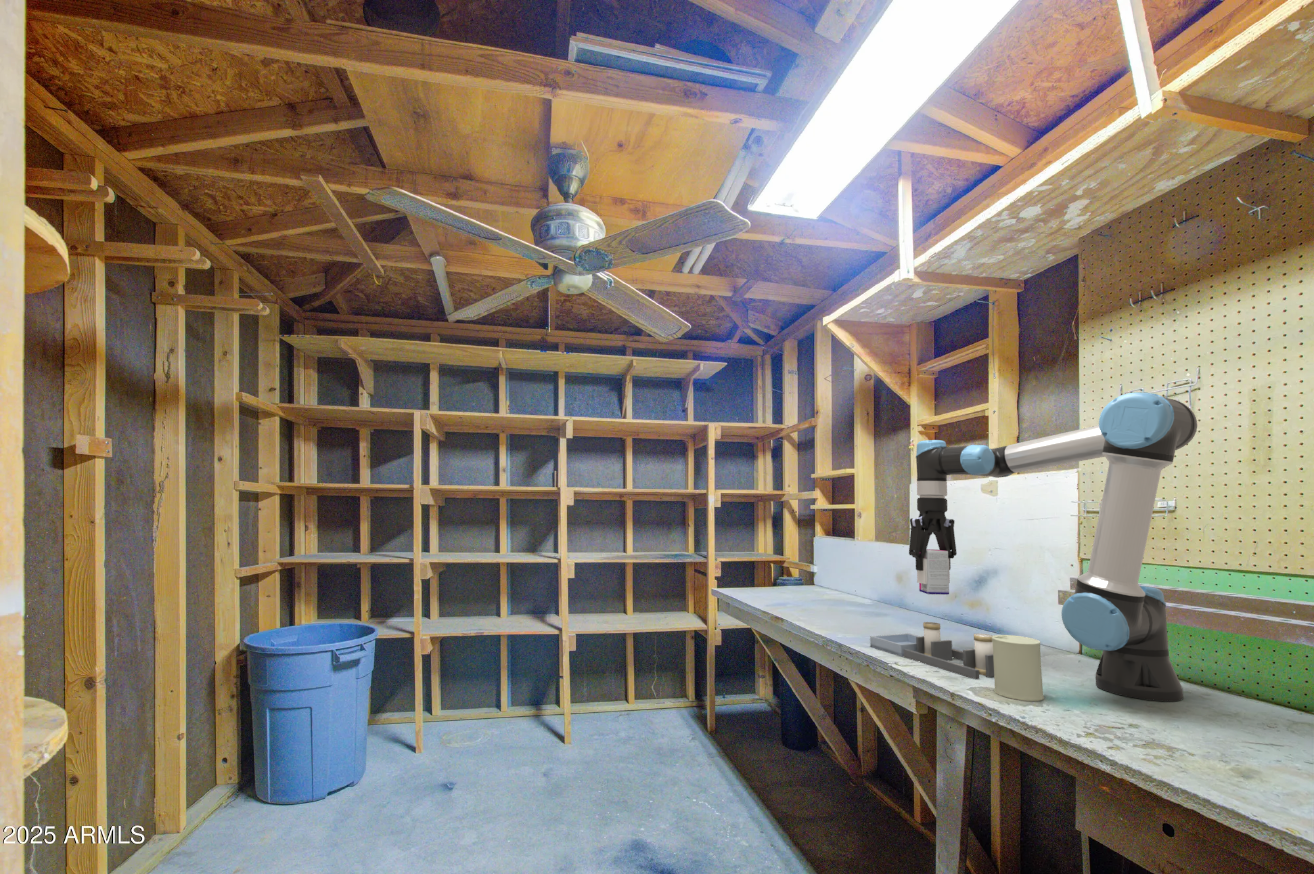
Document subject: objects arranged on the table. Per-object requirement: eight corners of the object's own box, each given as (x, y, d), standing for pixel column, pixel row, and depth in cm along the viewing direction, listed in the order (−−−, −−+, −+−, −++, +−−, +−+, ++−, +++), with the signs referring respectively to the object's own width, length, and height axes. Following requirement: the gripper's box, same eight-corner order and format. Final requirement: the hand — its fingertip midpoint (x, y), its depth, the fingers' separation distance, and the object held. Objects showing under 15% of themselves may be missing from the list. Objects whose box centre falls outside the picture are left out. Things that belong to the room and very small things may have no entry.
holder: (1017, 674, 146) (1016, 652, 147) (975, 679, 141) (974, 657, 142) (942, 653, 167) (941, 634, 167) (904, 657, 162) (903, 637, 162)
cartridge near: (999, 674, 145) (997, 636, 146) (986, 676, 144) (984, 637, 145) (983, 670, 149) (982, 632, 150) (971, 671, 148) (969, 633, 149)
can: (996, 685, 136) (993, 630, 137) (1045, 693, 131) (1041, 636, 132) (991, 695, 129) (988, 637, 130) (1042, 704, 123) (1039, 643, 125)
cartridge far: (945, 659, 160) (943, 624, 161) (933, 660, 159) (931, 625, 160) (932, 655, 164) (931, 621, 165) (920, 656, 162) (919, 622, 163)
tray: (940, 652, 167) (940, 641, 168) (901, 656, 162) (901, 644, 163) (908, 643, 179) (908, 633, 179) (870, 646, 173) (870, 636, 174)
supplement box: (950, 594, 159) (948, 550, 160) (927, 594, 159) (926, 550, 160) (940, 591, 165) (938, 548, 166) (918, 591, 165) (917, 548, 166)
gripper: (948, 497, 172) (950, 579, 170) (892, 496, 164) (894, 581, 162) (970, 498, 165) (972, 583, 163) (914, 496, 157) (915, 585, 155)
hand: (933, 582), depth 162 cm, fingers closed on supplement box, 7 cm apart
